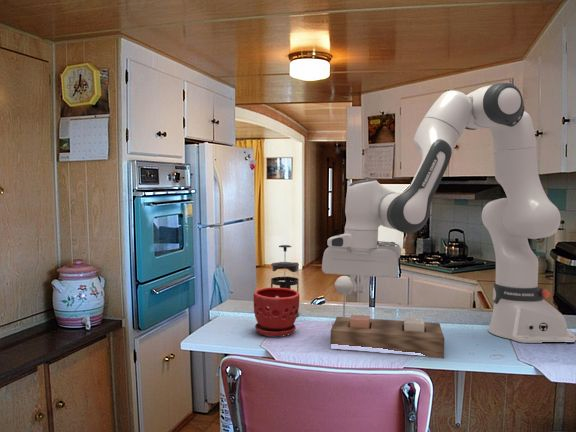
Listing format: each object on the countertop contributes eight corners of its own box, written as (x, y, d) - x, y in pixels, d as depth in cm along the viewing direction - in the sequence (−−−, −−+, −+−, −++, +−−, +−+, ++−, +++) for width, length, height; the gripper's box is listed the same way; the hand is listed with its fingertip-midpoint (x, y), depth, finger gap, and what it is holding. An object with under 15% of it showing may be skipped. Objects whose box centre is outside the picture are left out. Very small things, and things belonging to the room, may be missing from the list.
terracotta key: (369, 328, 135) (370, 315, 135) (368, 333, 130) (369, 320, 130) (351, 327, 136) (351, 314, 136) (349, 332, 131) (349, 319, 131)
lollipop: (340, 328, 147) (341, 278, 146) (330, 323, 152) (330, 275, 151) (357, 326, 150) (358, 276, 149) (346, 321, 155) (347, 273, 154)
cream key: (423, 332, 132) (423, 319, 132) (424, 337, 127) (424, 323, 127) (403, 330, 133) (404, 317, 133) (404, 336, 128) (404, 322, 128)
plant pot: (245, 336, 138) (246, 294, 138) (264, 324, 151) (264, 285, 150) (289, 342, 134) (290, 298, 133) (305, 329, 146) (305, 289, 145)
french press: (296, 320, 156) (297, 247, 154) (267, 319, 157) (267, 246, 156) (301, 311, 167) (302, 243, 166) (274, 310, 169) (274, 242, 167)
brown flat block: (439, 341, 136) (439, 323, 135) (443, 358, 122) (444, 338, 122) (336, 333, 141) (336, 316, 141) (330, 349, 128) (330, 330, 128)
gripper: (401, 241, 133) (399, 292, 133) (324, 237, 137) (323, 287, 138) (401, 243, 126) (399, 297, 127) (321, 239, 131) (320, 291, 131)
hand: (359, 292), depth 132 cm, fingers closed
